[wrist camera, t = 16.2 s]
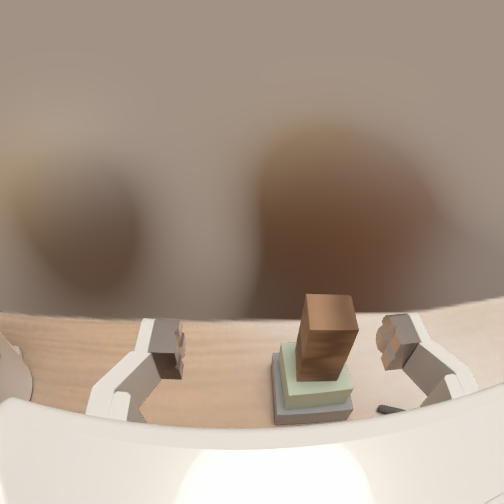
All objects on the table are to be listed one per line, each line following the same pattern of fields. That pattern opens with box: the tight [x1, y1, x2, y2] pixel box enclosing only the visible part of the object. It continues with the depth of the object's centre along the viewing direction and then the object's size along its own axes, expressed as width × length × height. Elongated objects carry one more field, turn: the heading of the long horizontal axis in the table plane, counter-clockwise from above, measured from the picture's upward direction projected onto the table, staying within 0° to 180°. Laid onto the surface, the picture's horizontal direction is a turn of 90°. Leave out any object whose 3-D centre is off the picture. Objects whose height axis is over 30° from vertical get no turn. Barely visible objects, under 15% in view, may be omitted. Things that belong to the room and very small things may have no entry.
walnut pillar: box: [295, 294, 359, 382], centre depth 35 cm, size 5×5×10 cm
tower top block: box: [279, 342, 353, 410], centre depth 39 cm, size 8×8×4 cm
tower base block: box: [271, 353, 353, 425], centre depth 42 cm, size 10×10×4 cm
